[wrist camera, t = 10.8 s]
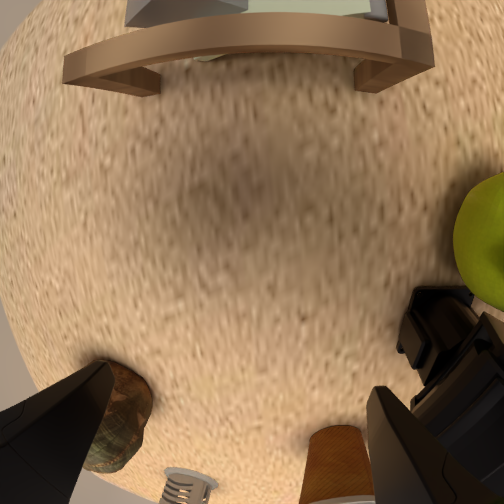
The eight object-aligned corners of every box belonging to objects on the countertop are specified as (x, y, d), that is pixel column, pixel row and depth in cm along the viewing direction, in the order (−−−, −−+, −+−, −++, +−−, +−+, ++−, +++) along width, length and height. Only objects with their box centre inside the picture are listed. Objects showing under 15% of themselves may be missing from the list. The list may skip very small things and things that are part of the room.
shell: (65, 348, 28) (11, 414, 17) (133, 350, 26) (76, 441, 15) (106, 408, 32) (70, 473, 21) (173, 417, 30) (142, 498, 19)
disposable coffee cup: (310, 460, 31) (308, 536, 20) (284, 429, 28) (276, 522, 17) (379, 442, 28) (390, 520, 17) (366, 407, 26) (381, 505, 15)
